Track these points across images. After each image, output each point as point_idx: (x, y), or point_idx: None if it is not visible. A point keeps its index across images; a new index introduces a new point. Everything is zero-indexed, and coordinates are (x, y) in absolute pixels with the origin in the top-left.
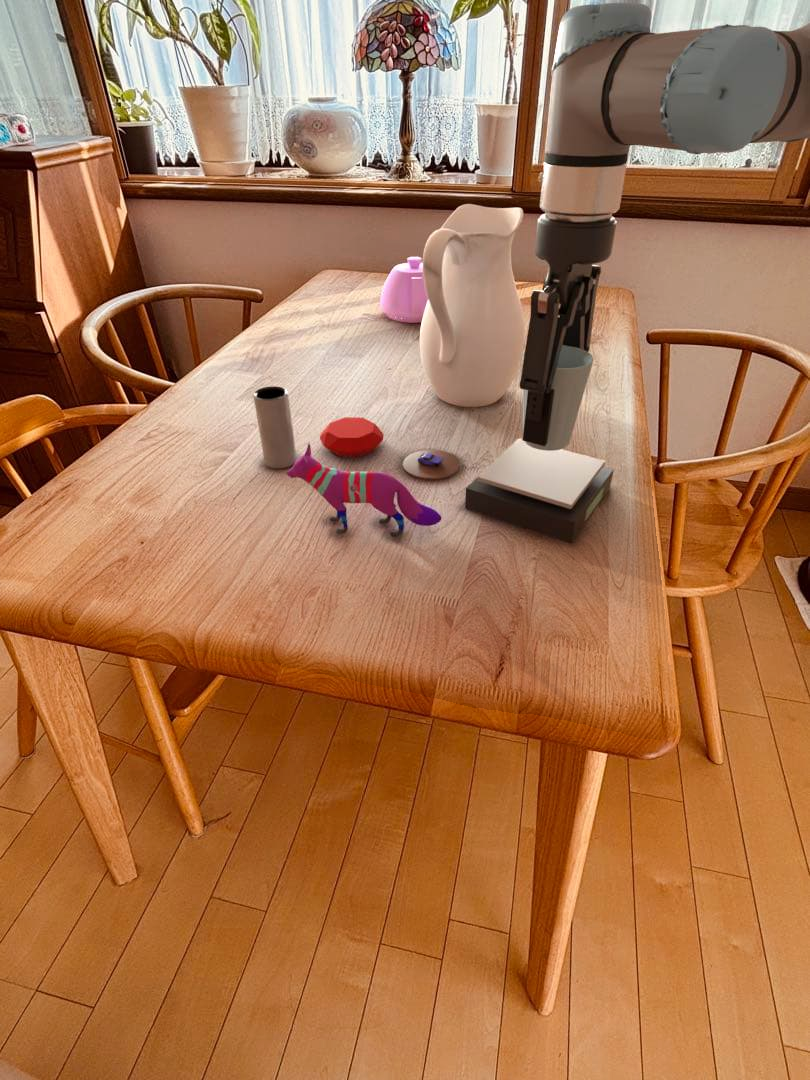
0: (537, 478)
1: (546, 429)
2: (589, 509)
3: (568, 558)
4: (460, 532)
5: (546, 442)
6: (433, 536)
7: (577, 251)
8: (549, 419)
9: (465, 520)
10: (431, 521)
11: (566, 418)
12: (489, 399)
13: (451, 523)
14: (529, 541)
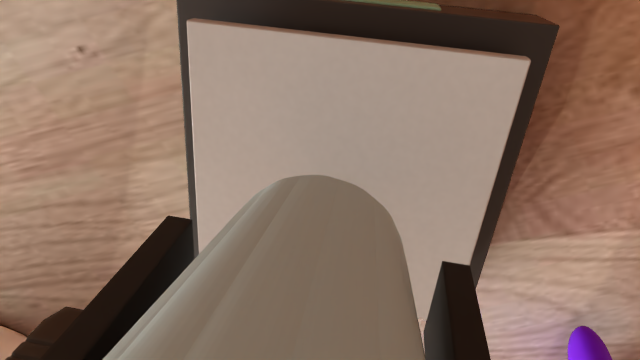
0: (400, 192)
1: (482, 322)
2: (415, 4)
3: (616, 3)
4: (560, 268)
5: (453, 268)
6: (592, 310)
7: None
8: (468, 352)
9: (506, 270)
10: (603, 343)
11: (375, 276)
12: (16, 346)
13: (528, 292)
14: (556, 121)
